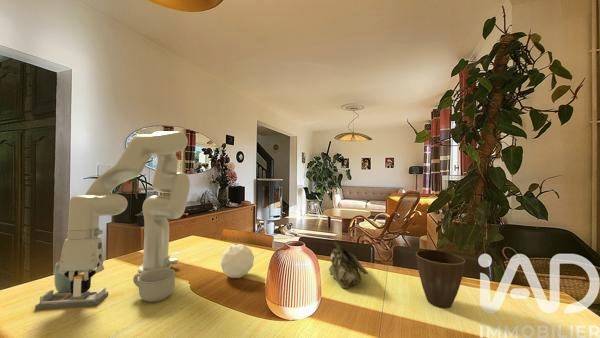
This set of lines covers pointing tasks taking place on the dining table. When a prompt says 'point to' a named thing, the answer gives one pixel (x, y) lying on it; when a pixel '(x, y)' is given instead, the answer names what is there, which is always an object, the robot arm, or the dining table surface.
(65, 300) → the grey tray
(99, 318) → the dining table surface
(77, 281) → the fader tab
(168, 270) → the teacup
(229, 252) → the geodesic sphere
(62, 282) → the cup
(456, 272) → the plant pot
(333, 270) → the hollow geode rock
